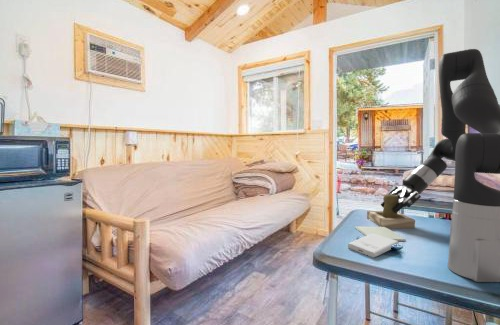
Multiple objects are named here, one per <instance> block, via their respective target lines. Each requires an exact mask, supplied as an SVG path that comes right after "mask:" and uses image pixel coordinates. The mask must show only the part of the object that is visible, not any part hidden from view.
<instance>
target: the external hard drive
mask: <svg viewBox="0 0 500 325" xmlns="http://www.w3.org/2000/svg"><path fill="white" fill-rule="evenodd" d="M399 242H400V241H396V240H393V239H390V238H387V237H383V236H380V235H377V234H374V233H372V234H370V235H367V236H365V235H364V236H363V237H360V238H358V239H355V240H353V241H351V242H348V243H347V248H348V249H350V250H352V251H355V252H358V253H360V254H362V255H366V256H367V255H368V257H370V258H372V259H373V258H376V257H378V256H380V255H383V254H385V253H387V252H389V251H390V250H392V249H391V246H392V245H394V244H398V245H399Z"/></svg>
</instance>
